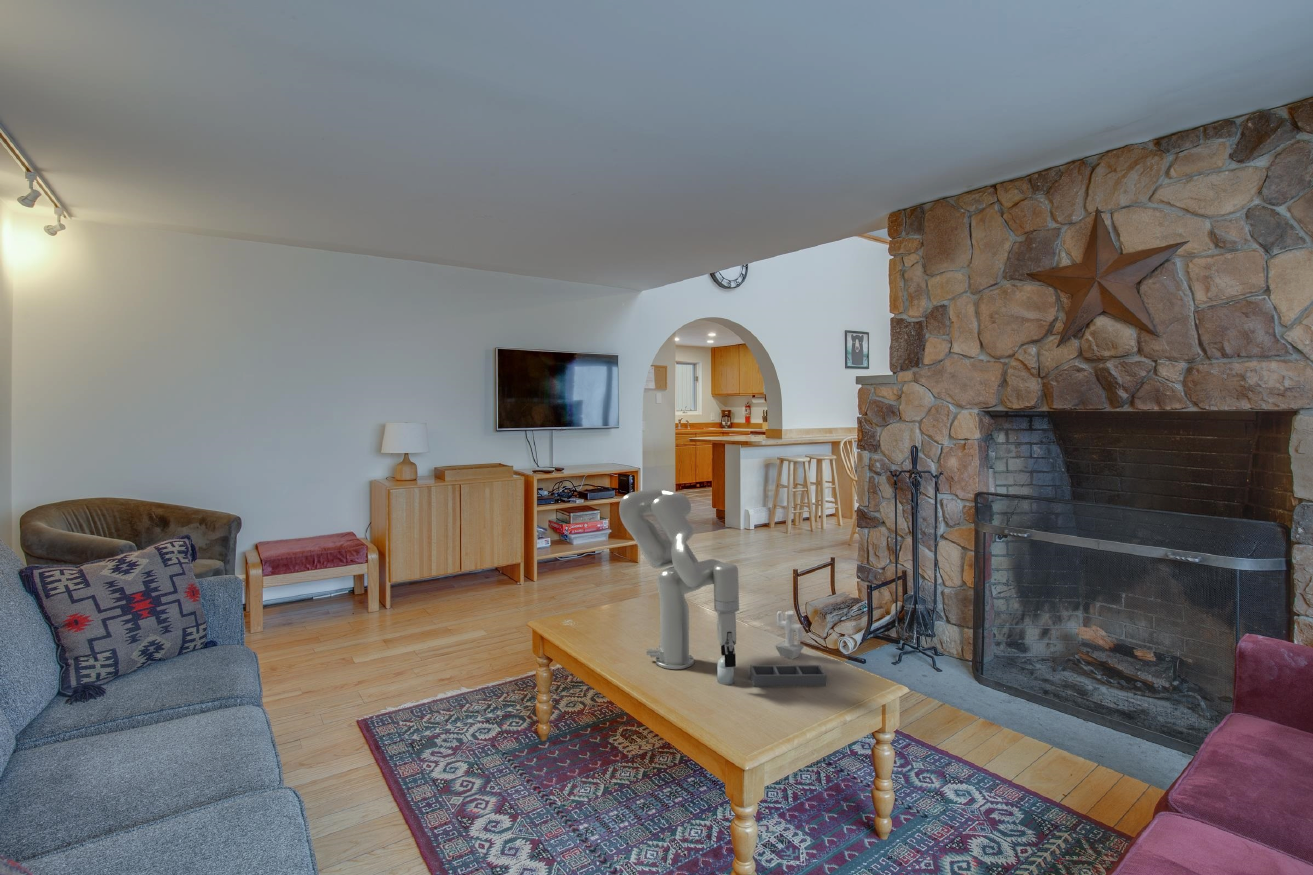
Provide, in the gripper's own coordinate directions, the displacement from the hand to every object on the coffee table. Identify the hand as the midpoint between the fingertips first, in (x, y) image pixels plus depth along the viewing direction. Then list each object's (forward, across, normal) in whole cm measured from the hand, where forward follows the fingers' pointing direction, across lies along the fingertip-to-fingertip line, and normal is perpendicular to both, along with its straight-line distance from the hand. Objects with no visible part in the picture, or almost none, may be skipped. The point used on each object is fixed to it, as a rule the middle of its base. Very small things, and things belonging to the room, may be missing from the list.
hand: (728, 660), depth 196 cm
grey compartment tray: (+7, -1, +18) cm, 19 cm away
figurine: (+7, -21, +23) cm, 32 cm away
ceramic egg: (+7, -1, -1) cm, 7 cm away
